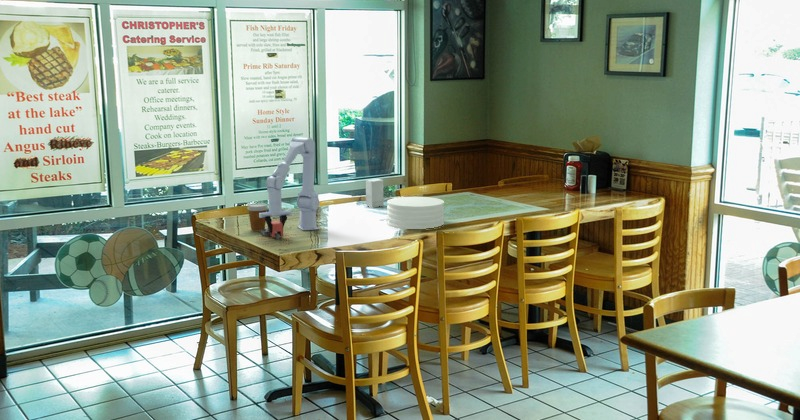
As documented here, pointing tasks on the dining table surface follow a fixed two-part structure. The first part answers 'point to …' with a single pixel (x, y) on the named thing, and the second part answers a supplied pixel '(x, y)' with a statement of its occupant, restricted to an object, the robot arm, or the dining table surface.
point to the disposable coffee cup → (257, 216)
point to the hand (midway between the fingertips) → (275, 232)
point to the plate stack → (415, 212)
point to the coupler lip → (266, 233)
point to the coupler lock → (276, 228)
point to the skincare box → (374, 193)
